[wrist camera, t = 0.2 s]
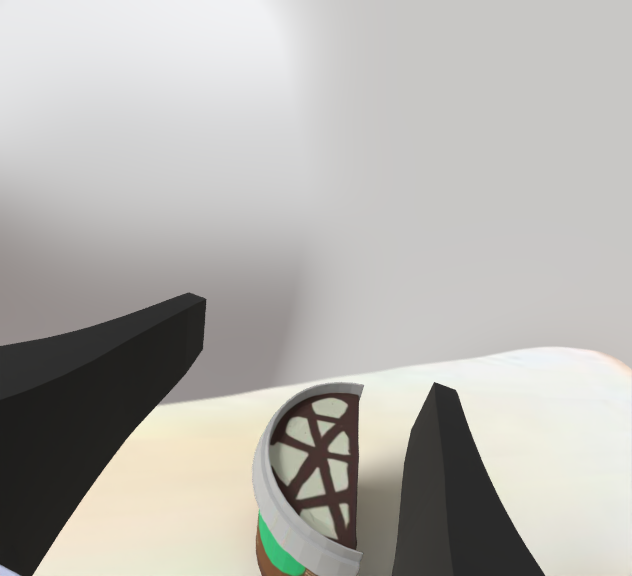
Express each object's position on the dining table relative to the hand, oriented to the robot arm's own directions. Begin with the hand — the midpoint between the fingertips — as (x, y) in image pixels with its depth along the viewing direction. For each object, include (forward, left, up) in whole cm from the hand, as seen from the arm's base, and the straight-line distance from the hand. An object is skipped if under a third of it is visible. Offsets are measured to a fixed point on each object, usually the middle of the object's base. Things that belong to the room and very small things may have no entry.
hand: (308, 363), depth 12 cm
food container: (+7, 0, -21) cm, 22 cm away
